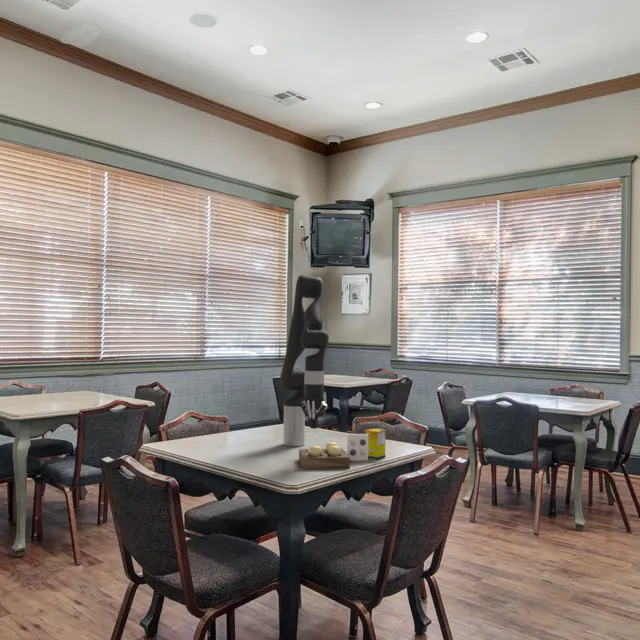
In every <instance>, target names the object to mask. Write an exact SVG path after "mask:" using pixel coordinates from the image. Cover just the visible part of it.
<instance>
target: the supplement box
mask: <svg viewBox="0 0 640 640" xmlns="http://www.w3.org/2000/svg"><path fill="white" fill-rule="evenodd" d="M364 434H368V457H369V458H368V459H372V458H375V459H374V460H378V459H383V458H386V429H385V428H384V429H382V428H373V427H372V428H369V429H365V431H364Z"/></svg>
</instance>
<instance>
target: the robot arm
mask: <svg viewBox="0 0 640 640" xmlns="http://www.w3.org/2000/svg"><path fill="white" fill-rule="evenodd" d="M295 284H296V285H295V290H294V299H293V300H294V301H293V308H292V309H293V311H292V316H291V321H290V325H289V326H290V327H289V333H288V338H287V339H288V340H287V344H286V345H287V346H286V351H285V352H286V353H285V357H284V360H283V365H282V369H281V371H280V372H281V373H280V379H279V380H280V381H279V383H280V388H281V389H282V390H284V391H294V392H293V393H292V394H290V395H289V396H287V397H286V398H284V400H283V446H286V447H301V446H304V445H305V442H306V441H305V436H306V435H305V429H306V428H305V425H306V424H305V421H306V420H305V417H308V418H309V427H310V428H309V429H315V430H316V429H317V427H318V426H319V419H320V418H322V417H323V416H324V414H326V411H327V410H328V408H329V407H330V406H329V404H326V403H325V399H324V395H325V374H324V366H325V365H324V364H325V363H324V361H325V356H326V355H325V354H326V350H327V347H328V344H329V334H328V332H327V331H326V330H322V329H323V325H324V324H323V317H322V316H323V315H322V308H323V300H324V298H323V297H324V283H323V279H322V278H320V277H317V276H310V275H298V277H297V279H296V283H295ZM303 298H304V299H305V298H306V299H313V301H312V302H311V303H310V304H309V305H308V306H307V308H306V309H304V304H303ZM306 349H309V350H310V349H311V350H313V349H314V350H318V352H316V353H314V354H310V355H309V354H308V355H306V357H305V362H304V363H305V365H304V368H305V369H303V368H295V364H296V363H297V360H298V359H299V357H300V356H301V355H302V354H303V352H304V351H305V350H306Z"/></svg>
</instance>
